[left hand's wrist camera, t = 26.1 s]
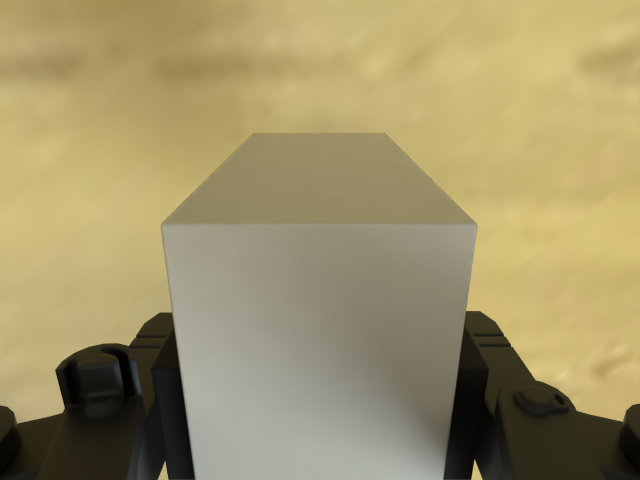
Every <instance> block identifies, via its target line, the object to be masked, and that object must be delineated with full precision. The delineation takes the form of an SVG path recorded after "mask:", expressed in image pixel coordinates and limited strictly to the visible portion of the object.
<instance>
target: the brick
mask: <svg viewBox="0 0 640 480" xmlns="http://www.w3.org/2000/svg"><path fill="white" fill-rule="evenodd" d="M161 232H162V239H163V246H164V254H165V261H166V269H167V276H168V283H169V291H170V298H171V306H172V313H173V320H174V328H175V335H176V343H177V350H178V357H179V365H180V372H181V380H182V387H183V394H184V402H185V409H186V417H187V424H188V431H189V439H190V446H191V454H192V461H193V468H194V476H195V480H443V477H444V470H445V462H446V455H447V448H448V440H449V433H450V425H451V418H452V410H453V403H454V396H455V388H456V381H457V373H458V366H459V359H460V351H461V344H462V336H463V329H464V322H465V314H466V307H467V299H468V292H469V284H470V277H471V270H472V262H473V255H474V247H475V240H476V233H477V223H476V222H475V221H474V220H473V219H472V218H471V217H469V216H468V215H467V214H466V213H465V212H464V211H463V210H462V209H461V208H460V207H459V206H458V205H457V204H456V203H455V202H454V201H453V200H452V199H451V198H450V197H449V196H448V195H447V194H446V193H445V192H444V191H443V190H442V189H441V188H440V187H439V186H438V185H437V184H436V183H435V182H434V181H433V180H432V179H431V178H430V177H429V176H428V175H427V174H426V173H425V172H424V171H423V170H422V169H421V168H420V167H419V166H418V165H417V164H416V163H415V162H414V161H413V160H412V159H411V158H410V157H409V156H408V155H407V154H406V153H405V152H404V151H403V150H402V149H401V148H400V147H399V146H398V145H397V144H396V143H395V142H394V141H393V140H392V139H391V138H390V137H389V136H388V135H386V134H385V133H253V134H252V135H251V136H250V137H249V138H248V139H247V140H246V141H245V142H244V143H243V144H242V145H241V146H240V147H239V148H238V149H237V150H236V151H235V152H234V153H233V154H232V155H231V156H230V157H229V158H228V159H227V160H226V161H225V162H223V163H222V164H221V165H220V166H219V167H218V168H217V169H216V170H215V171H214V172H213V173H212V174H211V175H210V176H209V177H208V178H207V179H206V180H205V181H204V182H203V183H202V184H201V185H200V186H199V187H198V188H197V189H196V190H195V191H194V192H193V193H192V194H191V195H190V196H189V197H188V198H187V199H186V200H185V201H184V202H183V203H182V204H181V205H180V206H179V207H178V208H177V209H176V210H175V211H174V212H173V213H172V214H171V215H170V216H169V217H168V218H167V219H166V220H165V221H164V222H162V224H161Z"/></svg>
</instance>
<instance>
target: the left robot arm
mask: <svg viewBox="0 0 640 480" xmlns="http://www.w3.org/2000/svg"><path fill="white" fill-rule="evenodd" d="M55 371H56V375H57V379H58V383H59V387H60V390H61V394H62V398H63V402H64V406H65V409H64V411H63V413H61V414H57V415H54V416H50V417H46V418H41V419H37V420H32V421H28V422H23V423H19V424H17V421H16V418H15V415H14V412H13V411H11V410H10V409H9V408H8V407H5V406H0V480H158V478H159V475H160V472H161V470H162V467H163V465H164V462H165V461H166V467H167V473H168V479H169V480H195V476H194V468H193V461H192V454H191V446H190V439H189V431H188V424H187V417H186V409H185V402H184V394H183V387H182V380H181V372H180V365H179V357H178V350H177V343H176V335H175V328H174V320H173V313H159V314H157V315H156V316H154V317H153V318H152V319H150V320H149V321H147V322H146V323H145V324H144V325H143V326H142V328H141V329H140V331H139V332H138V334H137V335H136V338H134V340H133V341H132V342H131V344H130V345H129V346H126V345H122V344H118V343H112V344H100V345H96V346H91V347H88V348H85V349H83V350H80V351H78V352H76V353H74V354H72V355H71V356H69V357H68V358H66V359H65V360H63V361H62V362H61V364H60V365H59V366H58V367H57V369H56V370H55ZM474 459H475V461H476V463H477V466H478V469H479V471H480V474H481V476H482V480H640V404H635V405H632V406H631V407H630V408H629V409H628V410H626V413H625V417H624V420H623V422H621V421H616V420H612V419H607V418H603V417H598V416H594V415H589V414H586V413H582V412H579V411H576V408H575V406H574V405H573V404H572V402H571V401H570V399H569V398H568V397H567V396H566V395H564V394H563V393H562V392H560V391H559V390H558V389H556V388H554V387H552V386H550V385H548V384H546V383H544V382H540V381H536V380H535V379H534V377H533V376H532V374H531V373H530V372H529V370H528V369H527V367H526V366H525V364H524V363H523V361H522V360H521V358H520V357H519V356H518V354H517V353H516V351H515V350H514V348H513V347H511V344H510V343H509V341H508V340H507V338H506V337H504V334H503V332H502V331H501V330H500V328H499V327H498V325H497V324H496V322H495V321H493V320H492V319H490V318H489V317H488V316H486V315H485V314H483V313H482V312H480V311H466V314H465V322H464V329H463V336H462V344H461V351H460V359H459V366H458V373H457V381H456V388H455V396H454V403H453V410H452V418H451V425H450V433H449V440H448V448H447V455H446V462H445V470H444V477H443V480H471V477H472V471H473V465H474Z"/></svg>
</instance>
